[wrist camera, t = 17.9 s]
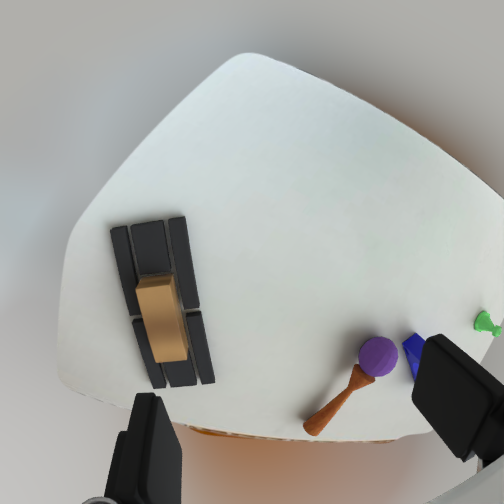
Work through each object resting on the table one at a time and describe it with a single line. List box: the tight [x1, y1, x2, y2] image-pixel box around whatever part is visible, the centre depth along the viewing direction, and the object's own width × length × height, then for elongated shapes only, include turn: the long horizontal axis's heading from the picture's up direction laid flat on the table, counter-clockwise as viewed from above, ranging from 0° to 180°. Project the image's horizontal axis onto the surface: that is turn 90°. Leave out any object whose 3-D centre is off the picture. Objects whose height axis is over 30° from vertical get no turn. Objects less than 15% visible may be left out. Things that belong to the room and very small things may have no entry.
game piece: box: [475, 311, 501, 337], centre depth 44 cm, size 4×4×6 cm
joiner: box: [135, 273, 188, 363], centre depth 36 cm, size 10×4×4 cm, turn 6°
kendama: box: [303, 337, 398, 436], centre depth 43 cm, size 6×6×20 cm
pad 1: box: [110, 217, 200, 316], centre depth 36 cm, size 11×9×1 cm
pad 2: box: [132, 311, 215, 389], centre depth 39 cm, size 11×9×1 cm
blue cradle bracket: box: [402, 333, 426, 381], centre depth 44 cm, size 12×4×6 cm, turn 30°
